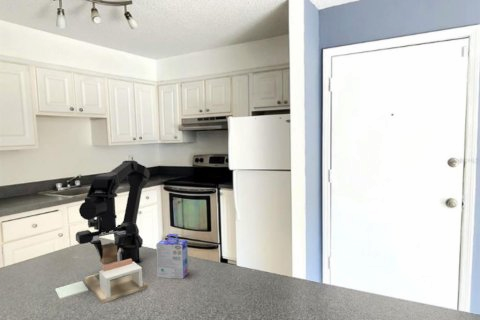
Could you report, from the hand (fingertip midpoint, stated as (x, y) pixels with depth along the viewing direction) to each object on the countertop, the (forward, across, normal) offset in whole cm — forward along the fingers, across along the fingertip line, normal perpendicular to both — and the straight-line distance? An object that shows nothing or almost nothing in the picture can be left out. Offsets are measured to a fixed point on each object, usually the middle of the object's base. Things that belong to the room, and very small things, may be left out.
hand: (108, 256), depth 106 cm
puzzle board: (+8, 0, +5) cm, 10 cm away
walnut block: (+2, 0, 0) cm, 2 cm away
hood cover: (+7, 0, +12) cm, 13 cm away
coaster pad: (+8, +12, 0) cm, 14 cm away
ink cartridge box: (+8, -18, +12) cm, 23 cm away
